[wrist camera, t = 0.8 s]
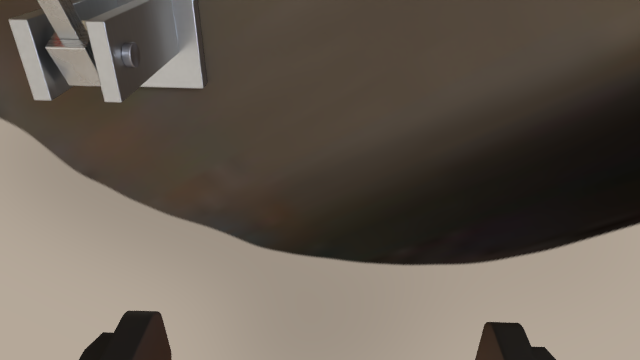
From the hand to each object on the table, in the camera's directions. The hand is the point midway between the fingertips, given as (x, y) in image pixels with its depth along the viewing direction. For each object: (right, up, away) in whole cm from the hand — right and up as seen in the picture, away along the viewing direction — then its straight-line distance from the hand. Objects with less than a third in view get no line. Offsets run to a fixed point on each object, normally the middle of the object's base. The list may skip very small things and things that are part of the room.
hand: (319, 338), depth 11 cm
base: (-13, +16, +23) cm, 31 cm away
